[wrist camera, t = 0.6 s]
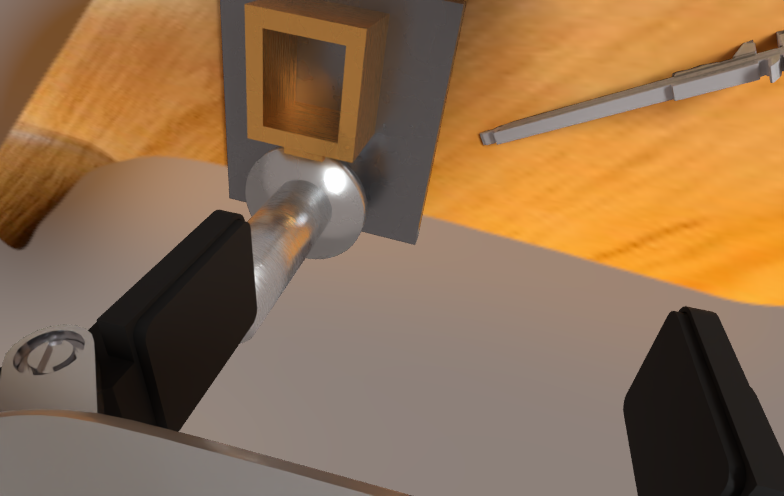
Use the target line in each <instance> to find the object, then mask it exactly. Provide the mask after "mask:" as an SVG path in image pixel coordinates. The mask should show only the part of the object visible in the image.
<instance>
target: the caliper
mask: <svg viewBox="0 0 784 496" xmlns="http://www.w3.org/2000/svg"><path fill="white" fill-rule="evenodd" d="M777 43H778V48H776V49H772V50H768V51H765V52H761V53H756V46H755V43H753V40H752V41H749V42H746V43H743V44H742V46H741V47H740V48H739V50H738V51H737V52H736V54H735V55H734V56H733V58H732V59H729V60H725V61H722V62H715V63H710V64H705V65H700V66H697V67H694V68H691V69H688V70H683V71H678V72H675V73H673V74H672V77H671V78H667V79H664V80H660V81H657V82H653V83H650V84H646V85H642V86H639V87H635V88H632V89H628V90H625V91H621V92H617V93H614V94H610V95H607V96H603V97H600V98H596V99H593V100H589V101H585V102H582V103H578V104H575V105H571V106H567V107H564V108H560V109H557V110H553V111H549V112H546V113H542V114H539V115H535V116H531V117H528V118H524V119H521V120H517V121H514V122H511V123H508V124H505V125H502V126H499V127H496V129H492V130H489V131H485V132H482V133H480V136H481V139H482V142H483V144H484V145H489V144H493V143H496V142H497V144H501V143H505V142H509V141H513V140H517V139H521V138H525V137H529V136H532V135H536V134H540V133H544V132H548V131H552V130H556V129H560V128H563V127H567V126H571V125H575V124H579V123H583V122H587V121H591V120H594V119H598V118H602V117H606V116H610V115H614V114H618V113H621V112H625V111H629V110H633V109H637V108H641V107H645V106H648V105H652V104H656V103H660V102H664V101H668V100H672V99H674V100H675V101H677V100H681V99H685V98H689V97H693V96H697V95H701V94H705V93H709V92H713V91H716V90H720V89H724V88H728V87H732V86H736V85H740V84H744V83H748V82H752V81H756V80H759V79H760V77H761V76H764V75H767V76H770V82H771V83H773V82H775V81H776V80H777V79H778V78H779V77H780V76H781V74H782V71H784V31H779V32H777Z"/></svg>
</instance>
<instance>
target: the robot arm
mask: <svg viewBox="0 0 784 496" xmlns="http://www.w3.org/2000/svg"><path fill="white" fill-rule="evenodd" d="M256 315H257V299H256V286H255V274H254V262H253V250H252V237H251V227H250V224H249V223H248V222H245V220H244V217H243V216H242V215H241V214H237V213H232V212H227V211H223V210H216V211H214V212H213V213H212V214H211V215H210V216H209V217H207V219H205V220H204V221H203V222H202V223H201V224H200V225H199V226H198V227H197V228H196V229H195V230H193V231H192V232H191V233H190V234H189V235H188V236H187V237H186V238H185V239H184V240H183V241H182V242H180V243H179V244H178V245H177V246H176V247H175V248H174V249H173V250H172V251H171V252H170V253H168V254H167V255H166V256H165V257H164V258H163V259H162V260H161V261H160V262H159V263H158V264H157V265H155V267H153V268H152V269H151V270H150V271H149V272H148V273H147V274H146V275H145V276H144V277H142V278H141V280H139V281H138V282H137V283H136V284H135V285H134V286H133V287H132V288H131V289H129V291H127V292H126V293H125V294H124V295H123V296H122V297H121V298H120V299H119V300H118V301H116V302H115V303H114V304H113V305H112V306H111V307H110V308H109V309H108V310H107V311H106V312H105V313H103V314H102V315H101V316H100V317H99V318H98V319H97V322H96V323H95V324H94V325H93V326H92V327H91V328H90V329H89V330H87V329H85V328H82V327H79V326H77V325H57V326H50V327H47V328H44V329H41V330H37V331H35V332H33V333H31V334H29V335H27V336H25V337H23V338H22V339H21V340H19V341H18V342H17V343H15V344H14V345H13V346H12V347H11V348H10V350H9V351H8V352H7V353H6V355H5V357H4V360H3V363H2V367H0V496H412V495H408V494H405V493H401V492H398V491H394V490H390V489H387V488H383V487H379V486H376V485H372V484H368V483H365V482H362V481H358V480H354V479H351V478H347V477H344V476H340V475H336V474H333V473H329V472H325V471H322V470H318V469H315V468H311V467H307V466H304V465H300V464H296V463H292V462H289V461H285V460H282V459H278V458H274V457H271V456H267V455H263V454H260V453H256V452H252V451H248V450H245V449H241V448H237V447H233V446H230V445H226V444H223V443H219V442H215V441H211V440H208V439H204V438H200V437H196V436H193V435H189V434H185V433H181V432H178V431H179V430H180V429H181V428H182V426H183V424H184V423H185V422H186V420H187V419H188V417H189V416H190V415H191V413H192V412H193V410H194V409H195V407H196V406H197V404H198V403H199V401H200V400H201V398H202V397H203V396H204V394H205V393H206V391H207V390H208V388H209V387H210V386H211V384H212V383H213V381H214V380H215V378H216V377H217V375H218V374H219V373H220V371H221V370H222V368H223V367H224V365H225V364H226V362H227V361H228V359H229V358H230V357H231V355H232V354H233V352H234V351H235V349H236V348H237V347H238V344H240V342H241V341H242V339H243V338H244V336H245V335H246V334H247V332H248V331H249V329H250V328H251V326H252V325H253V323H254V321H255V319H256ZM623 411H624V418H625V424H626V429H627V435H628V441H629V447H630V453H631V458H632V464H633V470H634V476H635V481H636V487H637V492H638V496H784V455H783V453H782V450H781V448H780V446H779V444H778V442H777V439H776V437H775V435H774V433H773V431H772V429H771V426H770V424H769V422H768V420H767V417H766V415H765V413H764V411H763V409H762V406H761V404H760V402H759V400H758V398H757V395H756V394H755V392H754V391H753V389H752V388H751V387H750V386H749V383H748V381H747V379H746V377H745V375H744V372H743V370H742V368H741V366H740V363H739V361H738V359H737V357H736V355H735V352H734V350H733V348H732V346H731V343H730V341H729V339H728V337H727V335H726V333H725V330H724V328H723V326H722V324H721V321H720V319H719V317H718V315H717V314H716V313H714V312H711V311H706V310H701V309H696V308H691V307H686V306H685V307H682V308H681V309H680V310H679V312H676V311H671V312H670V313H669V315H668V316H667V318H666V320H665V322H664V324H663V326H662V328H661V330H660V331H659V333H658V335H657V337H656V339H655V341H654V343H653V345H652V347H651V349H650V351H649V353H648V354H647V356H646V358H645V360H644V362H643V364H642V366H641V368H640V370H639V372H638V373H637V375H636V377H635V379H634V381H633V383H632V385H631V387H630V389H629V391H628V392H627V394H626V397H625V400H624V408H623Z"/></svg>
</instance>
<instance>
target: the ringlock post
mask: <svg viewBox="0 0 784 496" xmlns="http://www.w3.org/2000/svg"><path fill="white" fill-rule="evenodd" d="M465 6H466V1H462V0H220V8H221V29H222V50H223V72H224V93H225V114H226V135H227V156H228V177H229V198H231V199H235V200H239V201H243V202H247V206H248V209H249V212H250V214H251V216H252V217H251V218H250V219H249V220H248V223H249V224H250V227H251V237H252V250H253V262H254V274H255V286H256V299H257V315H256V319H255V321H254V323H253V325H252V326H251V328H250V329H249V331H248V332H247V334H246V335H245V336H244V338H243V339H242V341H241V342H240V343H243V342H246V341H248V340H249V339H250V338H252V336H253V335H254V334H255V332H256V331H257V329H258V328H259V326H260V325H261V323H262V322H263V321H264V319H265V318H266V316H267V315H268V313H269V311H270V310H271V309H272V307H273V306H274V304H275V303H276V301H277V300H278V298H279V297H280V295H281V294H282V292H283V291H284V289H285V288H286V286H287V285H288V283H289V282H290V280H291V279H292V277H293V276H294V274H295V273H296V271H297V270H298V268H299V267H300V265H301V264H302V263H303V261H304V260H305V258H308V259H325V258H331V257H334V256H337V255H339V254H341V253H343V252H345V251H346V250H348V249H349V248H350V247H351V246H352V245H353V244H354V243H355V241H356V240H357V238H358V236H359V235H360V233H361V231H362V232H366V233H370V234H374V235H378V236H382V237H386V238H390V239H394V240H398V241H402V242H406V243H409V244H414V245H415V243H416V241H417V238H418V234H419V230H420V224H421V220H422V215H423V210H424V205H425V200H426V196H427V191H428V186H429V181H430V176H431V171H432V166H433V161H434V157H435V152H436V147H437V142H438V137H439V132H440V127H441V122H442V118H443V113H444V108H445V103H446V98H447V93H448V88H449V83H450V79H451V74H452V69H453V64H454V59H455V54H456V49H457V44H458V40H459V35H460V30H461V25H462V20H463V15H464V10H465Z"/></svg>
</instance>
